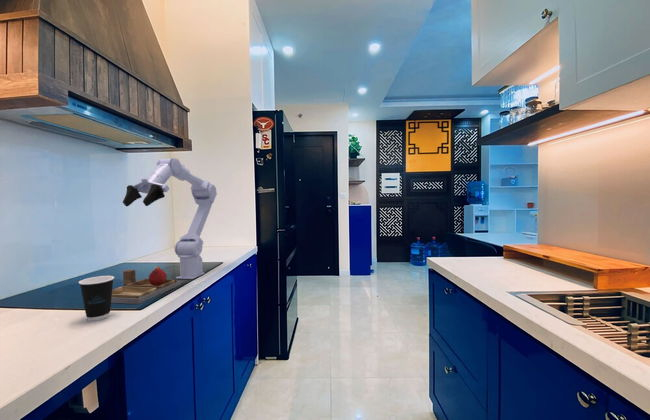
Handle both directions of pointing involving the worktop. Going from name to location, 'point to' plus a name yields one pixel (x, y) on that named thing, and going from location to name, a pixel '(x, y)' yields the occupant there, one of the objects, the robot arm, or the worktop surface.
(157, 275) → the onion
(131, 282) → the walnut tray
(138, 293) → the oak tray
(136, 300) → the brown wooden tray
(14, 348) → the worktop surface
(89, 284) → the dixie cup
